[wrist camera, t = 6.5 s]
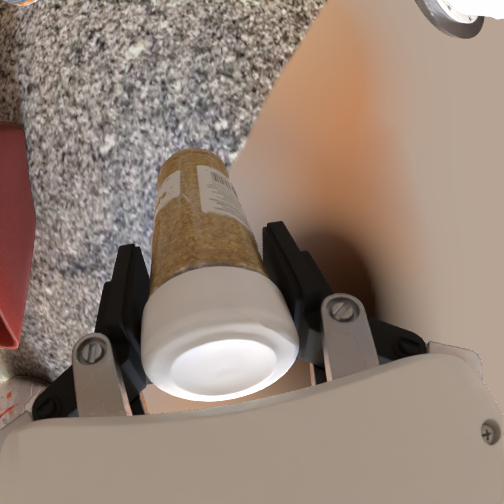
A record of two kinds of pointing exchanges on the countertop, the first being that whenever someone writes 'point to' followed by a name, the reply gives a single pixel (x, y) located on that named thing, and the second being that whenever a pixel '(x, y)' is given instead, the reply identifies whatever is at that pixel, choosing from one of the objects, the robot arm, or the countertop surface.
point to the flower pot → (14, 232)
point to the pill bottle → (20, 2)
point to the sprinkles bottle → (210, 290)
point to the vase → (18, 396)
